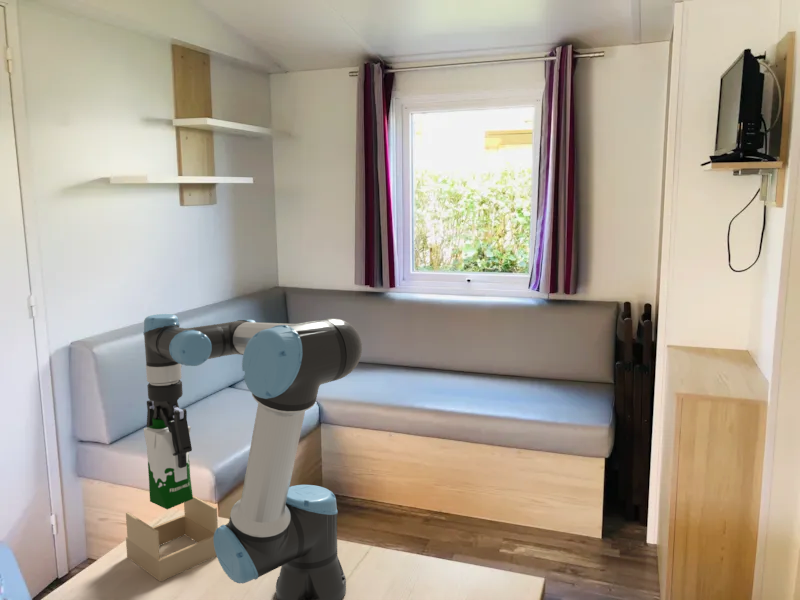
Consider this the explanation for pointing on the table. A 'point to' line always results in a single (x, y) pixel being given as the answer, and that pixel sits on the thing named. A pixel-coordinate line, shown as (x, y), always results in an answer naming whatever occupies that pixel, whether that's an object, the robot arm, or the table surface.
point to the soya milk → (165, 468)
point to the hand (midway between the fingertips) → (170, 474)
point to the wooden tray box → (147, 539)
